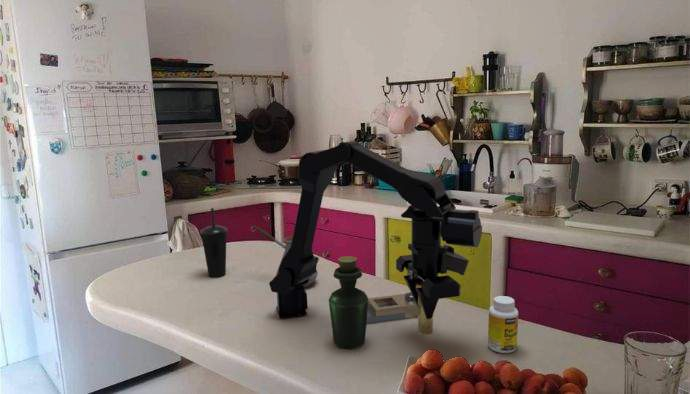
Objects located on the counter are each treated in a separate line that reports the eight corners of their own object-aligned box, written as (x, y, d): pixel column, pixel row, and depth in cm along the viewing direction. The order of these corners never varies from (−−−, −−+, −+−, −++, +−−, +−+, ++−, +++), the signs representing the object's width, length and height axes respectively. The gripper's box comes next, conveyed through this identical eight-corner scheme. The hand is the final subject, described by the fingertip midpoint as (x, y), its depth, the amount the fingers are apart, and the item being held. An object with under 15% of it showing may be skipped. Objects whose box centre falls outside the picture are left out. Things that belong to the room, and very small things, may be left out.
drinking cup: (236, 273, 148) (231, 207, 145) (216, 281, 142) (211, 212, 138) (217, 269, 152) (212, 204, 149) (198, 276, 146) (192, 209, 142)
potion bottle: (367, 332, 109) (366, 252, 105) (370, 350, 101) (369, 265, 97) (330, 333, 108) (327, 253, 105) (329, 352, 100) (326, 266, 97)
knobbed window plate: (352, 325, 112) (352, 308, 111) (344, 313, 119) (344, 297, 118) (427, 315, 116) (427, 299, 116) (415, 303, 123) (415, 288, 122)
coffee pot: (326, 281, 140) (324, 228, 137) (301, 294, 131) (298, 239, 128) (268, 268, 152) (265, 220, 149) (241, 280, 142) (237, 229, 139)
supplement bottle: (504, 357, 97) (506, 307, 95) (481, 346, 101) (483, 298, 99) (522, 349, 100) (525, 300, 98) (500, 338, 104) (501, 291, 102)
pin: (420, 337, 100) (420, 289, 98) (412, 328, 104) (412, 282, 102) (438, 334, 101) (439, 287, 99) (430, 325, 105) (430, 280, 103)
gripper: (487, 250, 92) (485, 329, 95) (443, 226, 110) (442, 293, 113) (431, 256, 89) (430, 337, 92) (395, 230, 107) (395, 299, 110)
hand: (425, 315), depth 102 cm, fingers closed on pin, 3 cm apart
